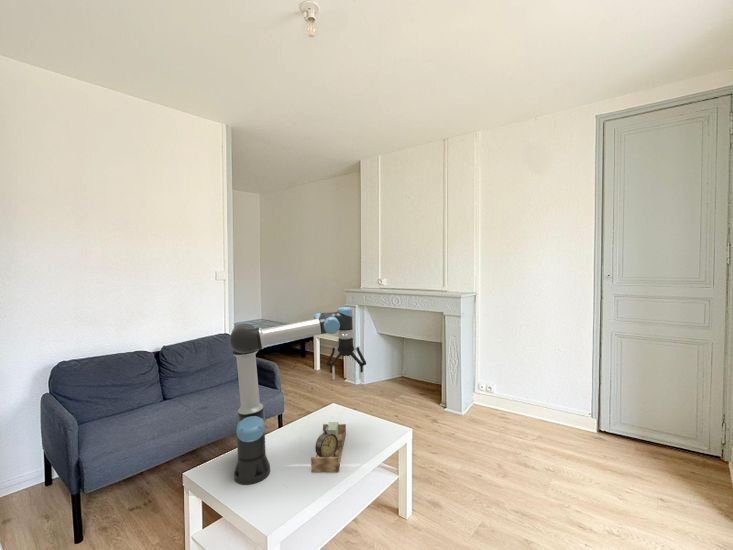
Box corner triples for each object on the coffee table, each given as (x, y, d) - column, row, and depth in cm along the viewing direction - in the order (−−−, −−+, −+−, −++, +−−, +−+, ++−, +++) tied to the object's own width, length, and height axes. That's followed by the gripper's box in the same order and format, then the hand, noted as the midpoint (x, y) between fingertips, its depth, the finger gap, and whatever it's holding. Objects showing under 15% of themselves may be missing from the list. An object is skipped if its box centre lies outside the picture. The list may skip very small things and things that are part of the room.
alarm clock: (321, 466, 157) (320, 430, 157) (313, 461, 161) (312, 427, 160) (339, 455, 165) (338, 421, 165) (331, 451, 169) (330, 418, 168)
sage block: (326, 445, 175) (325, 430, 174) (329, 436, 184) (328, 421, 183) (336, 445, 174) (335, 430, 174) (338, 436, 183) (338, 421, 183)
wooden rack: (311, 472, 155) (311, 458, 155) (323, 435, 188) (323, 424, 188) (338, 472, 154) (338, 458, 154) (345, 435, 187) (345, 423, 187)
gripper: (320, 339, 176) (321, 381, 176) (369, 338, 174) (370, 380, 175) (322, 336, 183) (324, 376, 184) (370, 335, 182) (371, 376, 183)
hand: (346, 378), depth 179 cm, fingers open, 13 cm apart
